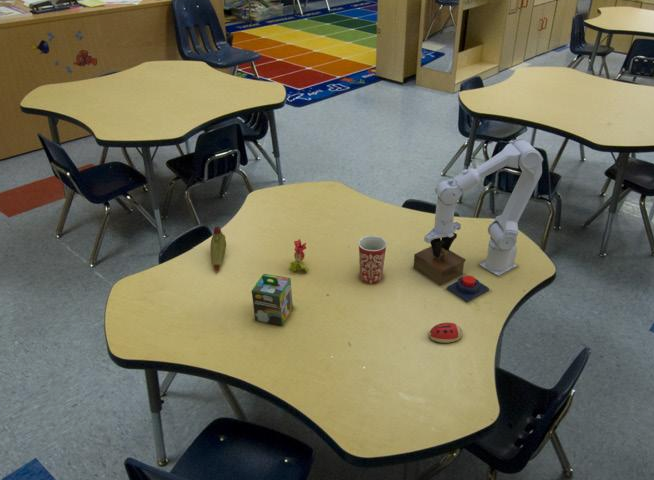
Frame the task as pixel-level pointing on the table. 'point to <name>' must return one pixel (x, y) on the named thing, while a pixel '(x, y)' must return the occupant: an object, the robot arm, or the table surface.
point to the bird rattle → (298, 256)
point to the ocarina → (217, 248)
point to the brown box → (436, 274)
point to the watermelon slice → (446, 332)
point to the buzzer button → (468, 281)
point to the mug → (371, 258)
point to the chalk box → (272, 299)
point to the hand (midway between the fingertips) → (440, 254)
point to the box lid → (440, 259)
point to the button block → (467, 290)
